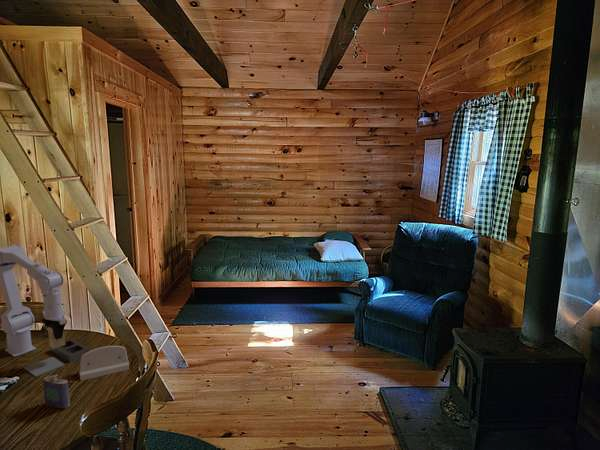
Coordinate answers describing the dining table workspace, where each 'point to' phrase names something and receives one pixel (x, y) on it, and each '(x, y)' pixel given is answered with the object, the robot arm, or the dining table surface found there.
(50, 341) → the tan rectangular block
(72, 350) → the double cubby frame
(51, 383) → the flask
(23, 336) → the robot arm
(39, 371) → the mat
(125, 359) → the grey rounded block
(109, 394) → the dining table surface
